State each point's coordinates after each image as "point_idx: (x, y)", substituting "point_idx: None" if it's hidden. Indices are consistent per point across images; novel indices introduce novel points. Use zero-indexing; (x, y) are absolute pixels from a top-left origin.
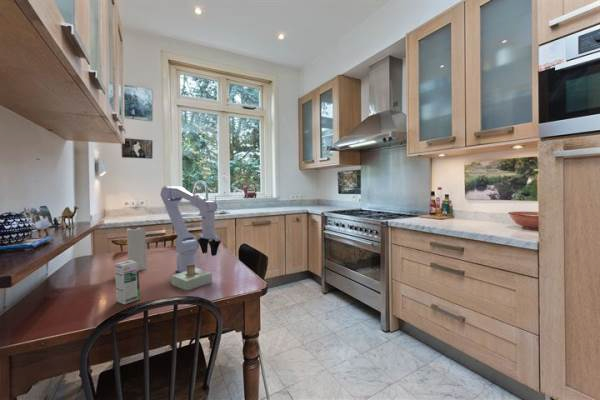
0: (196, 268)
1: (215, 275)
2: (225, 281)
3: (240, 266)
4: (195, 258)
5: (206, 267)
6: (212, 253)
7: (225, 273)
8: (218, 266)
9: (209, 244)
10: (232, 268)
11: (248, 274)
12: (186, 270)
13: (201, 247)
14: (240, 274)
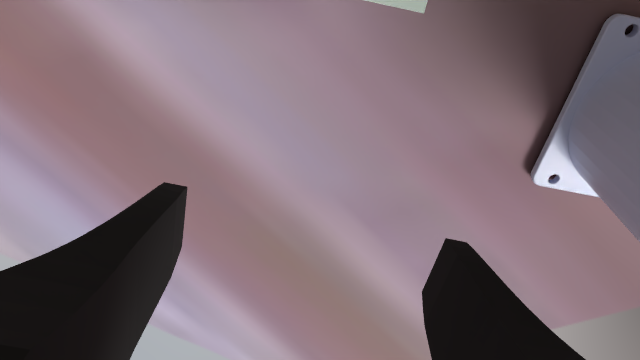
0: (419, 11)
1: (251, 112)
2: (6, 11)
3: (241, 355)
4: (635, 231)
5: (512, 252)
6: (138, 203)
7: (210, 191)
8: (419, 304)
9: (67, 311)
10: (262, 304)
11: (14, 240)
12: (637, 61)
13: (505, 309)
14: (70, 217)
